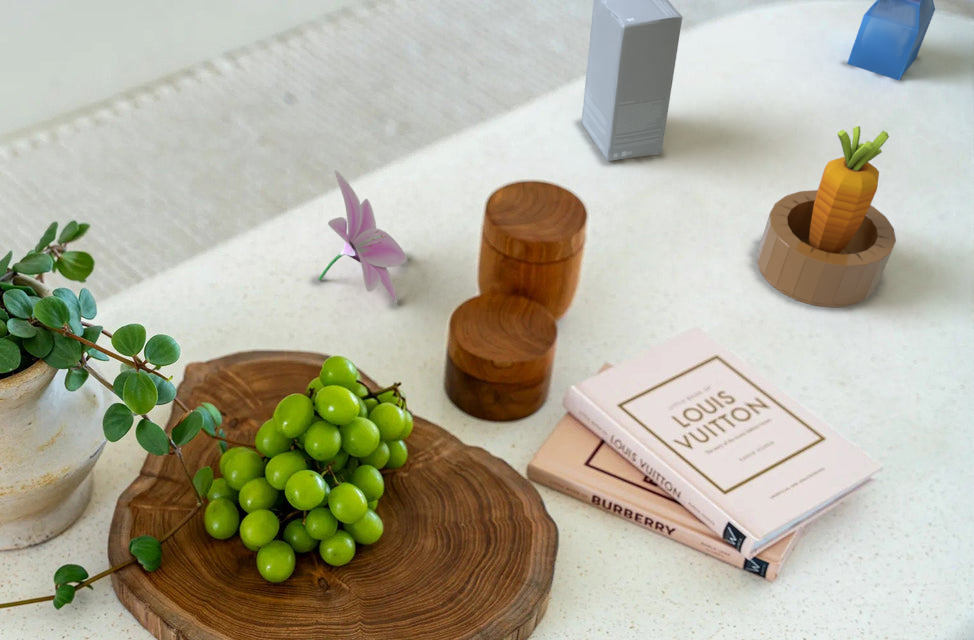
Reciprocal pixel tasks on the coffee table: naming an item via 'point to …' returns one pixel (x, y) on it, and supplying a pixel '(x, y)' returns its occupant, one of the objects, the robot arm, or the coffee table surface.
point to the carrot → (845, 193)
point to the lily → (366, 241)
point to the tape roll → (822, 255)
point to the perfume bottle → (891, 36)
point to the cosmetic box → (630, 75)
